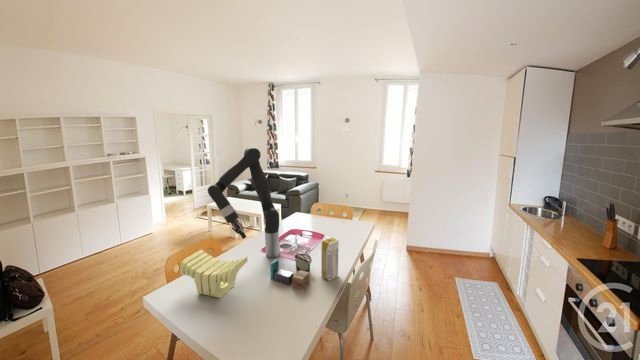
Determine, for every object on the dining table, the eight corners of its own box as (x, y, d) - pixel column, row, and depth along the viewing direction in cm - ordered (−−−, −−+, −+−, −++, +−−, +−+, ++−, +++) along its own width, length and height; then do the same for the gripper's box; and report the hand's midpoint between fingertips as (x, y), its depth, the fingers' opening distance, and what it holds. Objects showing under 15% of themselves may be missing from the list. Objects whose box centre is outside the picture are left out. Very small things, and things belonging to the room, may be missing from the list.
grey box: (276, 274, 161) (276, 259, 159) (305, 283, 153) (305, 266, 151) (270, 279, 156) (270, 263, 154) (300, 288, 147) (299, 271, 145)
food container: (315, 272, 164) (315, 257, 163) (308, 276, 160) (308, 261, 158) (302, 265, 173) (301, 251, 171) (294, 269, 168) (294, 254, 166)
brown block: (300, 281, 155) (300, 269, 154) (309, 283, 153) (309, 272, 151) (292, 288, 148) (292, 276, 147) (302, 291, 146) (302, 279, 144)
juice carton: (330, 271, 166) (330, 234, 162) (340, 276, 161) (340, 237, 156) (319, 277, 160) (319, 238, 155) (329, 282, 154) (329, 242, 150)
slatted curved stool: (182, 293, 144) (179, 262, 140) (203, 277, 159) (201, 249, 155) (231, 303, 135) (229, 270, 132) (248, 286, 150) (247, 256, 147)
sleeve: (279, 276, 160) (279, 268, 159) (293, 280, 156) (293, 272, 155) (274, 281, 155) (273, 272, 154) (288, 285, 151) (288, 277, 150)
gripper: (231, 212, 158) (247, 237, 159) (237, 209, 171) (252, 232, 172) (220, 219, 158) (236, 244, 159) (227, 215, 171) (242, 238, 172)
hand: (244, 238), depth 165 cm, fingers closed
